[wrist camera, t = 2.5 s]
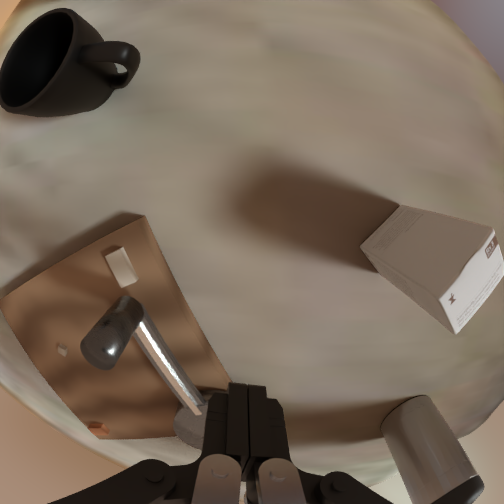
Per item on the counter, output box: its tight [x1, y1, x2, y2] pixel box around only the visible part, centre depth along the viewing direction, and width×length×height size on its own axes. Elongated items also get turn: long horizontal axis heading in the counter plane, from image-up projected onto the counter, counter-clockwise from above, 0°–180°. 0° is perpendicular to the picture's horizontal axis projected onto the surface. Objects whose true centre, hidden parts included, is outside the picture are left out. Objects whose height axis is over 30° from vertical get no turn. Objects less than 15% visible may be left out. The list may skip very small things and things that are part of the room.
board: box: [0, 216, 232, 439], centre depth 25 cm, size 25×25×3 cm
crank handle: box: [80, 296, 227, 450], centre depth 21 cm, size 22×9×8 cm, turn 21°
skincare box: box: [360, 205, 504, 335], centre depth 18 cm, size 6×4×12 cm
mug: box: [0, 8, 140, 117], centre depth 14 cm, size 8×12×10 cm
